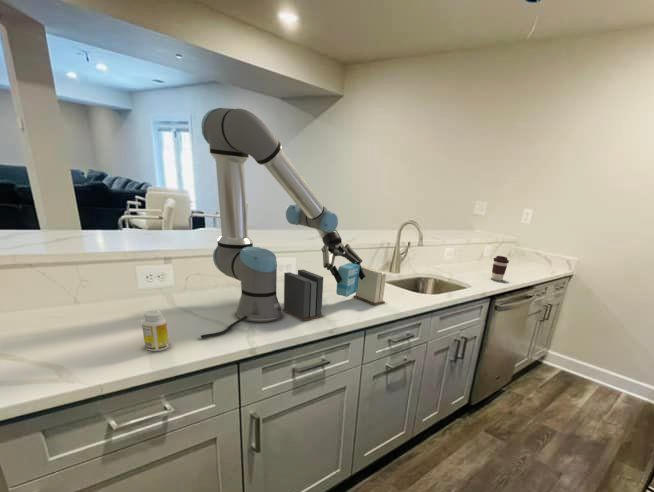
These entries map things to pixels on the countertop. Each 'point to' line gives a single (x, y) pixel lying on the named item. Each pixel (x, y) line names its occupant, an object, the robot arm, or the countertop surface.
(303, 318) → the grey books
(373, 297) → the cream books
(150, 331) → the supplement bottle
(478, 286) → the countertop surface
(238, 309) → the robot arm
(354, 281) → the blue box
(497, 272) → the coffee cup
